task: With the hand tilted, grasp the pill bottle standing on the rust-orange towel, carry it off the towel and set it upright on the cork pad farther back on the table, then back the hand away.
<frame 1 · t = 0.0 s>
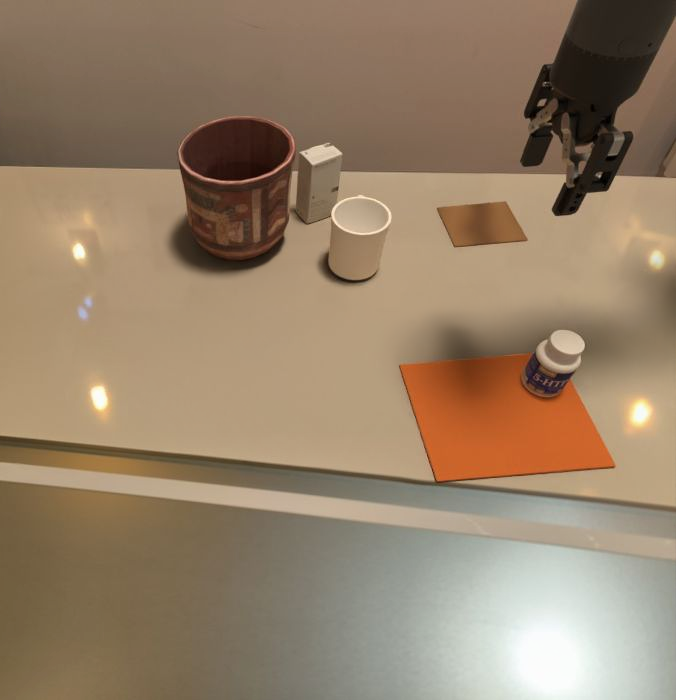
hand: (545, 187, 65), 28 cm above the table, tool pointing down, fingers open, 8 cm apart
cork pad: (480, 224, 103), on the table
towel: (499, 413, 80), on the table
pill bottle: (540, 383, 83), resting on towel
mug: (352, 261, 100), on the table
cosmetic box: (315, 213, 108), on the table
pottery: (239, 239, 105), on the table
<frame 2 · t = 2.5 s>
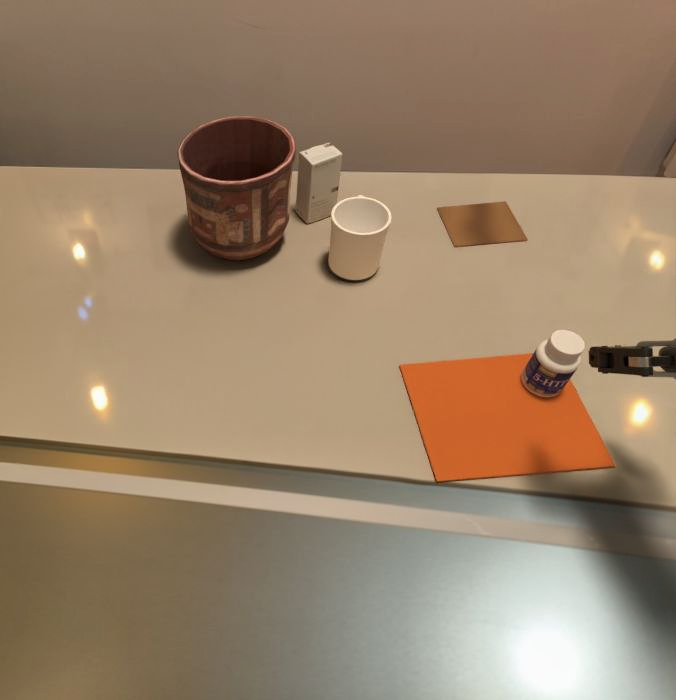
hand: (631, 354, 65), 17 cm above the table, tool tilted 40°, fingers open, 8 cm apart
nothing on the table moved.
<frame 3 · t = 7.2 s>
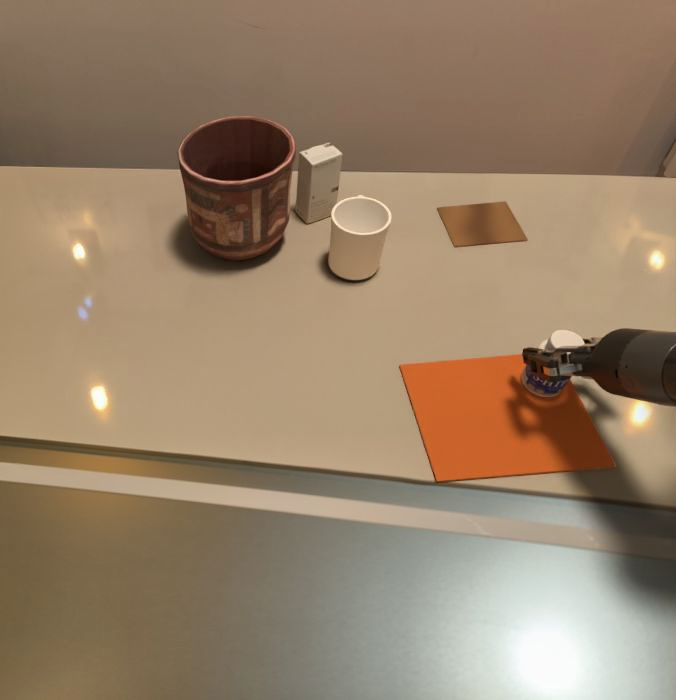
hand: (546, 350, 80), 5 cm above the table, tool tilted 45°, fingers closed on pill bottle, 5 cm apart
pill bottle: (540, 383, 83), resting on towel, touching gripper
everything else where it was.
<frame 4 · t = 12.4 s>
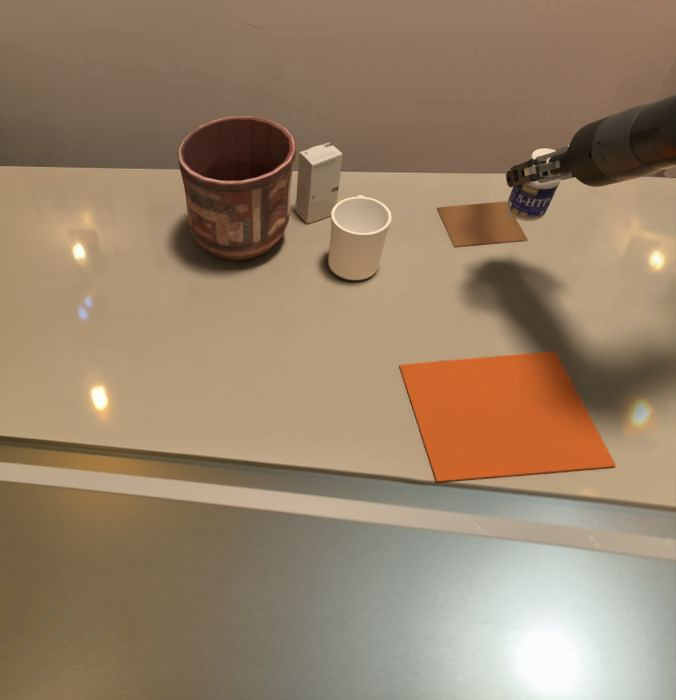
hand: (529, 175, 84), 17 cm above the table, tool tilted 45°, fingers closed on pill bottle, 5 cm apart
pill bottle: (524, 211, 87), point 12 cm above the table, touching gripper
everything else where it was.
when the fingers open (5 cm above the table, at t = 17.6 s): pill bottle stays where it is, resting on cork pad.
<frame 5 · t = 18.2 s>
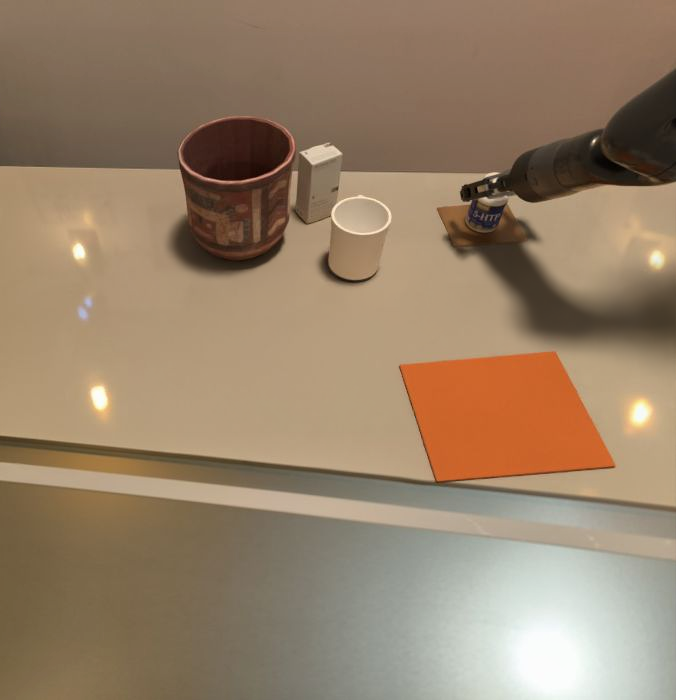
hand: (487, 190, 99), 6 cm above the table, tool tilted 45°, fingers open, 8 cm apart
pill bottle: (480, 224, 103), resting on cork pad
everything else where it was.
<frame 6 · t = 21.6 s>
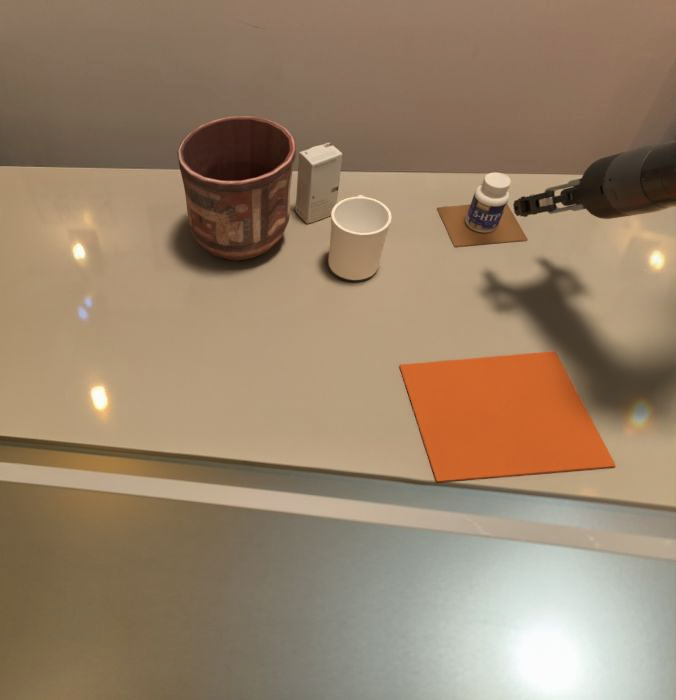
hand: (544, 201, 87), 13 cm above the table, tool tilted 45°, fingers open, 8 cm apart
nothing on the table moved.
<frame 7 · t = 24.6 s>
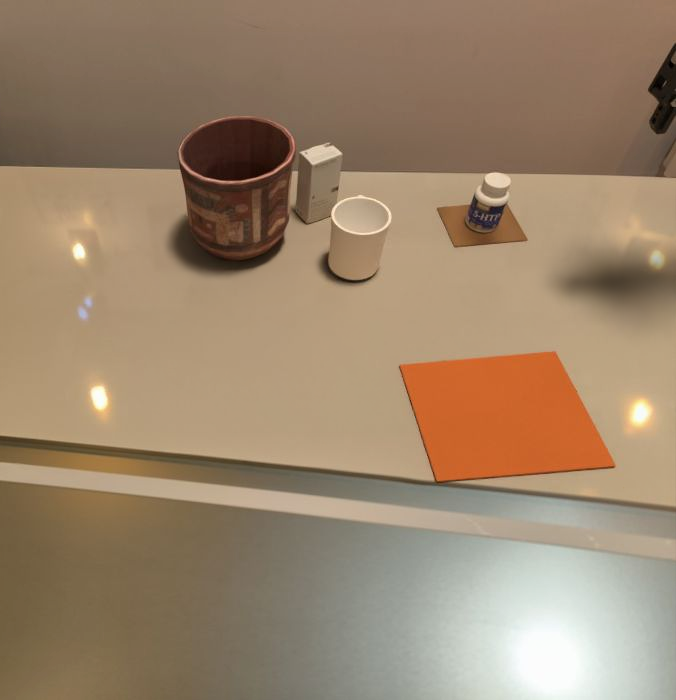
nothing on the table moved.
at the end: pill bottle touching cork pad; pill bottle inside the target area on the cork pad (0.1 cm from its centre), point 0.1 cm above the cork pad's base; pill bottle tilted 0° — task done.
